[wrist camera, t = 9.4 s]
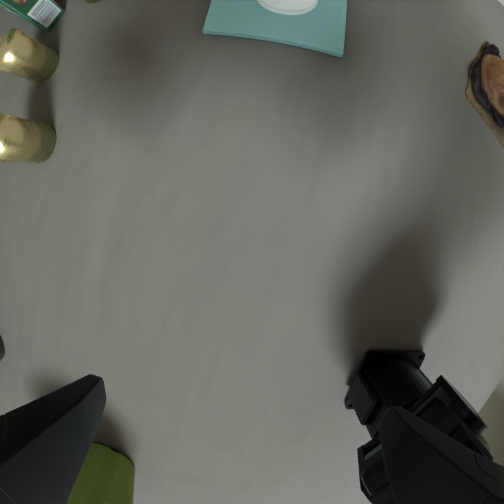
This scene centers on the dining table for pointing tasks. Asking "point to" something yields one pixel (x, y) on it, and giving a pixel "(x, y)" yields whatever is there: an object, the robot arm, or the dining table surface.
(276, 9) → the chess piece
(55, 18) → the coffee box
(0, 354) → the coffee cup
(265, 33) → the felt pad
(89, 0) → the cylinder
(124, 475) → the plant pot
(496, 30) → the dining table surface
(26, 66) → the cylinder
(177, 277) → the dining table surface
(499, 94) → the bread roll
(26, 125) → the cylinder
